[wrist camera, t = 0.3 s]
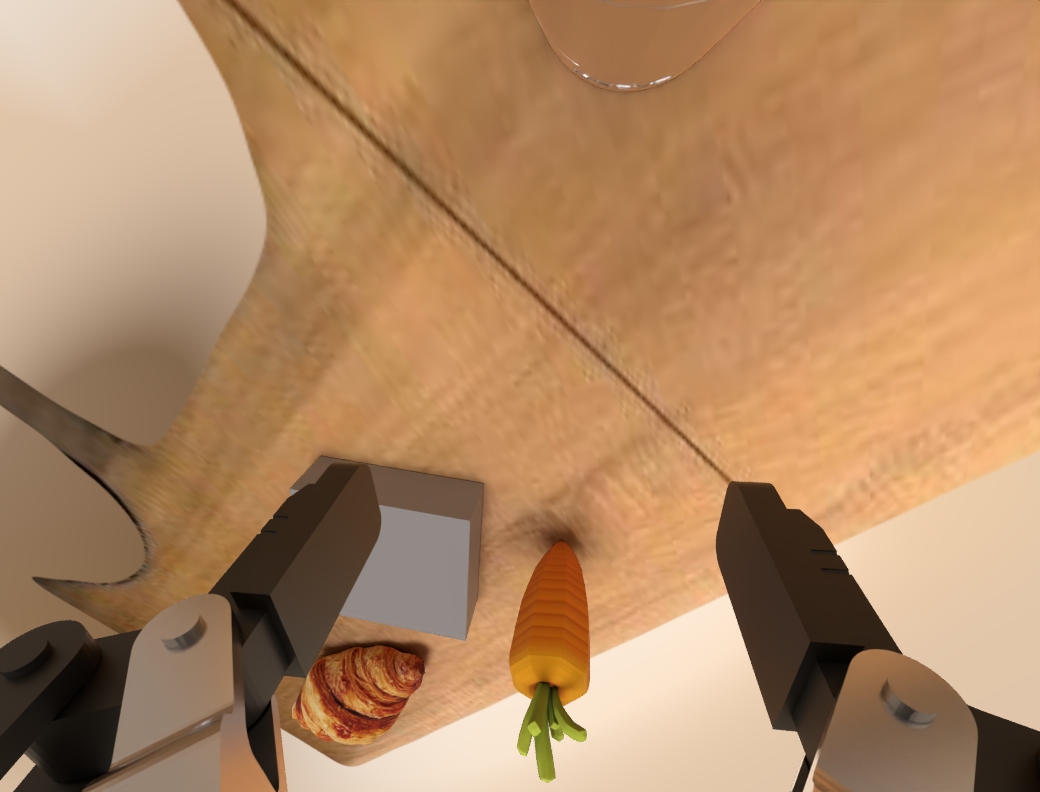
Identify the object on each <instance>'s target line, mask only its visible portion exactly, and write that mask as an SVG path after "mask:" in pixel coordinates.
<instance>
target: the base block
mask: <svg viewBox="0 0 1040 792" xmlns="http://www.w3.org/2000/svg"><path fill="white" fill-rule="evenodd" d="M332 463H355V464H365V463H359V462H353V461H347V460H341V459H335V458H330V457H324V456H320V457H319V458H318V459H317V460H316V461H315V462H314V463H313V464H312V465H311V466H310V468H309V469H308V470H307V471H306V472H305V473H304V474H303V475H302V476H301V477H300V478H299V479H298V480H297V481H296V482H295V484H294V485H293V486H292V487H291V488H290V494H291V496H292V495H293V494H294V493H296V492H297V491H299V490H300V489H302V488H303V487H304V486H306V485H307V484H315V483H316V482H317V480H318V479H319V478H320V477H321V475H322V474H323V473H324V472H325V470H326V469H327V468H328V467H329V466H330V465H331V464H332ZM367 465H368V466H369V468H370V470H371V474H372V478H373V482H374V486H375V491H376V495H377V499H378V503H379V508H380V512H381V529H380V534H379V537H378V540H377V542H376V544H375V546H374V548H373V550H372V552H371V554H370V556H369V558H368V560H367V561H366V563H365V565H364V567H363V569H362V571H361V573H360V575H359V577H358V579H357V581H356V583H355V585H354V587H353V588H352V590H351V592H350V594H349V596H348V598H347V600H346V602H345V604H344V606H343V608H342V610H341V612H340V614H339V615H342V616H347V617H352V618H357V619H362V620H366V621H371V622H376V623H381V624H386V625H391V626H396V627H400V628H405V629H410V630H415V631H420V632H425V633H430V634H434V635H439V636H444V637H449V638H454V639H459V640H464V641H466V638H467V634H468V631H469V627H470V623H471V620H472V616H473V613H474V609H475V606H476V602H477V598H478V579H479V561H480V542H481V524H482V506H483V487H484V484H483V483H477V482H471V481H466V480H460V479H454V478H448V477H442V476H436V475H430V474H424V473H418V472H412V471H406V470H400V469H395V468H389V467H383V466H377V465H371V464H367Z"/></svg>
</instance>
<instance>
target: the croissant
mask: <svg viewBox="0 0 1040 792" xmlns="http://www.w3.org/2000/svg"><path fill="white" fill-rule="evenodd" d="M424 673H425V666H424V662H423V661H422V660H421V659H420V658H419V657H418V658H417V657H416V656H415V655H412V654H409V653H401V652H399V651H398V650H396V649H394V648H392V647H385V646H381V645H376V646H374V647H368V648H362V647H354V648H350V649H347V650H344V651H342V652H341V653H337V654H333V655H330V656H327V657H322V658H321V659H319V660H317V661H315V662H314V664H313V666H312V668H311V670H310V672H309V673H308V675H307V679H306V681H305V683H304V685H303V688H302V690H301V692H300V694H299V696H298V699H297V701H296V702H295V704H294V706H293V707H292V717H293V718H294V719H297V720H298V722H299V723H300V725H301V726H302V728H304V729H306V730H312V732H313V733H314V734H315V735H316V736H317V737H318V738H320V739H322V740H325V741H327V742H329V741H334V740H335V741H337V742H340V743H343V744H351V745H355V744H363V745H365V744H368V743H371V742H373V741H374V740H375V739H376V738H378V737H380V736H382V735H383V734H385V733H386V732H387V731H388V730H389V729H390V728H391V727H392V725H393V724H394V723H395V722H396V720H397V718H398V716H399V714H400V712H401V710H402V709H403V708H404V706H405V705H406V703H407V701H408V699H409V697H410V695H411V694H413V693H414V692H415V691H416V690H417V689H418V688H419V687H420V685H421V683H422V677H423V675H424Z"/></svg>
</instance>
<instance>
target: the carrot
mask: <svg viewBox="0 0 1040 792" xmlns="http://www.w3.org/2000/svg"><path fill="white" fill-rule="evenodd" d="M509 663H510V670H511V675H512V679H513V684H514V687H515V688H516V689H517V690H518V691H519V692H520V693H522V694H524V695H525V696H527V697H528V698H530V699H532V701H531V703H530V706H529V708H528V710H527V713H526V715H525V717H524V720H523V724H522V727H521V730H520V734H519V739H518V744H517V749H518V750H519V752H520V754H521V755H524V756H527V753H528V750H529V746H530V742H531V738H532V736H533V737H534V740H535V750H536V760H537V766H538V772H539V777H540V779H541V780H543V781H545V782H547V783H548V782H550V781H551V780H553V779H555V778H556V777H555V769H554V762H553V756H552V750H551V744H550V738H549V728H548V722H549V727H550V730H551V735H552V738H554V739H556V740H557V741H561V740H562V739H563V738H564V734H563V732H564V733H565V734H566V735H568V736H569V737H571V738H572V739H574V740H576V741H578V742H583V741H585V740H586V737H587V733H586V730H585V729H584V728H582V727H581V726H579V725H577V724H576V723H575V722H573V720H572V719H571V718H570V716H569V715H568V714H567V712H566V711H565V709H564V708H563V706H565V705H566V704H568V703H570V702H572V701H574V700H576V699H578V698H580V697H581V696H583V695H584V694H585V693H587V690H588V687H589V681H590V641H589V617H588V605H587V598H586V591H585V584H584V579H583V574H582V569H581V567H580V564H579V562H578V559H577V557H576V555H575V554H574V552H573V550H572V549H571V547H570V546H569V545H568V544H567V543H566V542H564V541H558V542H557V543H556V544H555V545H554V546H553V547H552V548H551V549H550V550H549V551H548V552H547V553H546V554H545V555H544V556H543V558H542V559H541V561H540V562H539V563H538V565H537V566H536V568H535V570H534V572H533V575H532V577H531V579H530V581H529V583H528V586H527V589H526V591H525V594H524V596H523V599H522V602H521V606H520V610H519V614H518V618H517V622H516V626H515V631H514V636H513V640H512V645H511V650H510V656H509ZM562 730H563V731H562Z"/></svg>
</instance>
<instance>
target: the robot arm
mask: <svg viewBox="0 0 1040 792" xmlns="http://www.w3.org/2000/svg"><path fill="white" fill-rule="evenodd" d="M528 1H529V4H530V6H531V8H532V10H533V12H534V14H535V16H536V18H537V20H538V22H539V24H540V26H541V28H542V30H543V32H544V34H545V36H546V38H547V40H548V42H549V44H550V46H551V48H552V49H553V50H554V52H555V53H556V54H557V56H558V57H559V59H560V60H561V61H562V63H563V64H564V65H565V66H566V67H567V68H569V69H570V70H571V71H572V72H573V73H574V74H576V75H577V76H578V77H579V78H580V79H582V80H584V81H586V82H588V83H590V84H592V85H594V86H596V87H598V88H603V89H608V90H612V91H617V92H627V91H641V90H645V89H648V88H652V87H655V86H659V85H662V84H664V83H665V82H667V81H669V80H671V79H673V78H675V77H677V76H678V75H680V74H682V73H683V72H685V71H686V70H687V69H688V68H690V67H691V66H692V65H693V64H694V63H696V62H697V61H698V60H699V59H700V58H702V57H703V56H704V55H705V54H706V53H707V52H708V51H709V50H710V49H711V48H712V47H713V46H714V45H715V44H716V43H717V42H718V41H720V40H721V39H722V38H723V37H724V36H725V35H726V34H727V33H728V32H729V31H730V30H731V29H732V28H733V27H734V26H735V25H736V24H737V23H738V22H739V21H740V20H741V19H742V18H743V17H744V16H745V15H746V14H747V13H748V12H749V11H750V10H751V9H752V8H753V7H754V6H755V5H756V4H757V3H758V2H759V1H760V0H528ZM380 529H381V512H380V508H379V503H378V499H377V495H376V491H375V486H374V482H373V478H372V474H371V470H370V468H369V466H368V465H367V464H355V463H332V464H331V465H330V466H329V467H328V468H327V469H326V470H325V472H324V473H323V474H322V475H321V477H320V478H319V479H318V480H317V482H316V483H315V484H307V485H306V486H304V487H303V488H302V489H300V490H299V491H297V492H296V493H294V494H293V495H292V496H290V497H289V498H287V500H286V501H285V502H284V503H283V504H282V506H281V507H280V508H279V509H278V510H277V512H276V513H275V514H274V515H273V519H270V520H269V521H268V522H267V524H266V525H265V526H264V527H263V528H262V530H261V533H260V534H257V536H256V537H255V538H254V539H253V540H252V542H251V543H250V544H249V545H248V546H247V547H246V549H245V550H244V551H243V552H242V553H241V555H240V556H239V557H238V558H237V559H236V561H235V562H234V563H233V564H232V565H231V567H230V568H229V569H228V570H227V571H226V573H225V574H224V575H223V576H222V577H221V579H220V580H219V581H218V582H217V583H216V585H215V586H214V587H213V588H212V589H211V591H210V592H209V593H208V594H201V595H196V596H192V597H189V598H186V599H184V600H182V601H179V602H177V603H175V604H173V605H172V606H170V607H168V608H167V609H165V610H164V611H162V612H161V613H159V614H158V615H157V616H156V617H154V618H153V619H152V620H151V621H150V622H149V623H148V624H147V625H146V626H145V627H144V628H143V629H141V630H137V631H132V632H127V633H122V634H117V635H113V636H108V637H103V638H98V639H93V638H92V636H91V635H90V634H89V632H88V631H87V630H86V629H85V627H84V626H83V625H82V624H81V623H79V622H77V621H71V620H66V621H58V622H53V623H49V624H46V625H43V626H40V627H38V628H35V629H33V630H31V631H29V632H27V633H25V634H23V635H21V636H19V637H17V638H16V639H14V640H12V641H11V642H9V643H8V644H6V645H5V646H3V647H2V648H1V649H0V780H1V779H2V778H3V776H4V775H5V774H6V773H7V772H8V771H9V770H10V768H11V767H12V766H13V765H14V764H15V763H16V762H17V760H18V759H19V758H20V757H21V756H22V755H23V754H25V755H27V757H29V758H30V759H31V760H32V761H33V762H34V763H35V764H36V765H35V766H34V767H33V769H32V770H31V771H30V773H28V775H27V776H26V777H25V779H23V781H22V782H21V783H20V785H18V787H17V788H16V789H15V790H14V791H13V792H287V783H286V775H285V765H284V757H283V748H282V740H281V739H282V738H281V729H280V720H279V712H278V703H277V698H276V695H275V693H274V692H275V690H276V689H277V687H278V685H279V683H280V681H281V680H282V678H283V676H292V677H302V678H306V677H307V675H308V673H309V672H310V670H311V668H312V666H313V664H314V662H315V660H316V658H317V656H318V654H319V652H320V650H321V648H322V646H323V644H324V643H325V641H326V639H327V637H328V635H329V633H330V631H331V629H332V627H333V625H334V623H335V621H336V619H337V617H338V616H339V614H340V612H341V610H342V608H343V606H344V604H345V602H346V600H347V598H348V596H349V594H350V592H351V590H352V588H353V587H354V585H355V583H356V581H357V579H358V577H359V575H360V573H361V571H362V569H363V567H364V565H365V563H366V561H367V560H368V558H369V556H370V554H371V552H372V550H373V548H374V546H375V544H376V542H377V540H378V537H379V534H380ZM716 553H717V560H718V564H719V567H720V570H721V573H722V576H723V579H724V582H725V585H726V588H727V591H728V594H729V597H730V600H731V603H732V606H733V610H734V612H735V615H736V619H737V621H738V625H739V628H740V630H741V633H742V637H743V639H744V643H745V646H746V649H747V651H748V655H749V658H750V661H751V664H752V667H753V670H754V673H755V676H756V679H757V682H758V685H759V688H760V691H761V694H762V697H763V700H764V703H765V706H766V709H767V712H768V715H769V718H770V721H771V724H772V727H773V729H777V730H786V731H796V732H798V735H799V738H800V740H801V743H802V745H803V748H804V751H805V753H804V755H803V757H802V759H801V761H800V764H799V767H798V770H797V772H796V775H795V778H794V781H793V783H792V786H791V789H790V792H1040V731H1037V730H1034V729H1031V728H1028V727H1026V726H1023V725H1020V724H1017V723H1015V722H1012V721H1009V720H1006V719H1003V718H1000V717H998V716H995V715H992V714H989V713H987V712H984V711H981V710H979V709H976V708H974V707H971V706H969V705H967V704H966V703H965V702H964V700H963V699H962V698H961V696H960V695H959V694H958V693H957V692H956V691H955V690H954V689H953V688H952V687H951V686H950V685H949V684H948V683H947V682H946V681H945V680H944V679H942V678H941V677H940V676H939V675H938V674H936V673H935V672H933V671H932V670H931V669H929V668H928V667H926V666H925V665H923V664H921V663H919V662H918V661H916V660H914V659H911V658H909V657H907V656H905V655H903V654H902V652H901V651H900V650H899V648H898V647H897V645H896V643H895V642H894V640H893V639H892V637H891V636H890V634H889V632H888V631H887V629H886V628H885V626H884V625H883V623H882V621H881V620H880V619H879V617H878V615H877V614H876V612H875V610H874V609H873V607H872V606H871V604H870V603H869V601H868V599H867V598H866V596H865V595H864V593H863V592H862V590H861V589H860V587H859V585H858V584H857V582H856V581H855V579H854V577H853V576H852V575H849V572H848V568H847V566H846V565H845V563H844V562H843V560H842V558H841V557H840V556H839V555H837V551H836V549H835V548H834V546H833V544H832V543H831V541H830V540H829V538H828V536H827V535H826V533H825V532H824V530H823V529H822V528H821V527H820V526H819V525H818V524H816V523H815V522H814V521H813V520H812V519H810V518H809V517H808V516H807V515H806V514H804V513H803V512H802V511H801V510H800V509H787V508H786V507H785V505H784V503H783V501H782V500H781V498H780V496H779V494H778V493H777V491H776V489H775V488H774V486H773V485H772V484H770V483H758V482H736V481H732V482H730V484H729V485H728V488H727V492H726V496H725V500H724V505H723V509H722V513H721V518H720V522H719V526H718V531H717V536H716Z"/></svg>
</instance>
